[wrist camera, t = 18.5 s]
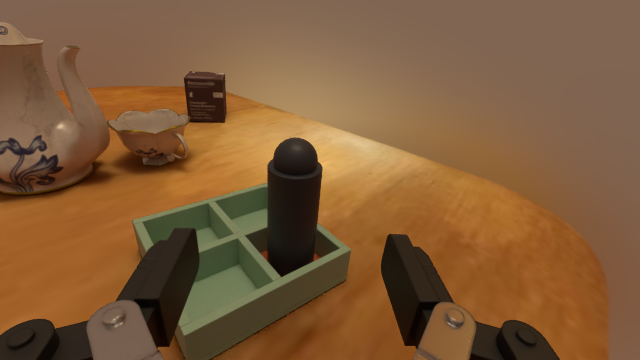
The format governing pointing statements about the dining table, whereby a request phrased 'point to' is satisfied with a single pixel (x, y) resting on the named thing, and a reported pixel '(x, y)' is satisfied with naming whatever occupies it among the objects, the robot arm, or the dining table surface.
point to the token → (292, 205)
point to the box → (205, 96)
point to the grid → (238, 270)
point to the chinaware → (65, 122)
